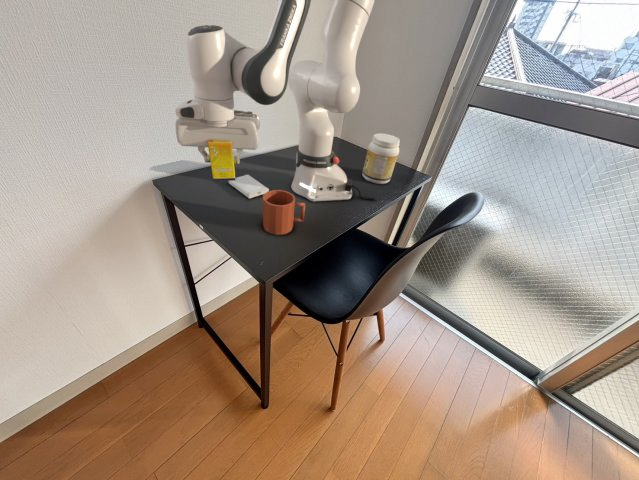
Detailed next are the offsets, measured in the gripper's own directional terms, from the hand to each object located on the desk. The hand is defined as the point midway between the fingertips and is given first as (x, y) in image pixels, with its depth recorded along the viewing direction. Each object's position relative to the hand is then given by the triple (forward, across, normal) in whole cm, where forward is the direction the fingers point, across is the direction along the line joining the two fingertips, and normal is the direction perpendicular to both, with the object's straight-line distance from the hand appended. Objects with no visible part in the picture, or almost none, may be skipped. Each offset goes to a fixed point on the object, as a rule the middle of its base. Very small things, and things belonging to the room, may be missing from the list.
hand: (222, 162), depth 75 cm
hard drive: (+15, -5, -13) cm, 20 cm away
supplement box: (+4, 0, 0) cm, 4 cm away
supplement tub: (+16, -56, -26) cm, 64 cm away
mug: (+15, -17, +9) cm, 24 cm away
